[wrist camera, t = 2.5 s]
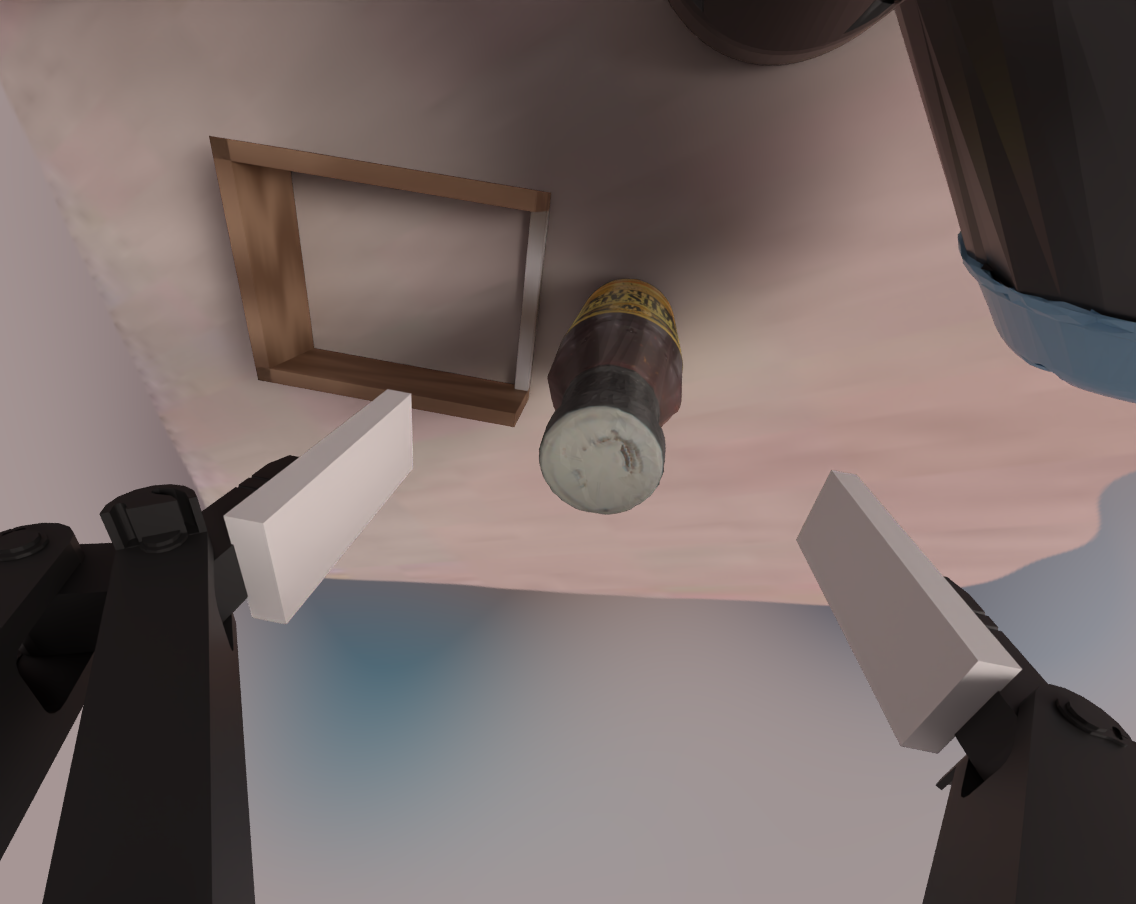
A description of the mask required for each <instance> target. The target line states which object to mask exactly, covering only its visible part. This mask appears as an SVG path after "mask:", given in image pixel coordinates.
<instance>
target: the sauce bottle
mask: <svg viewBox="0 0 1136 904" xmlns="http://www.w3.org/2000/svg"><path fill="white" fill-rule="evenodd" d="M682 370H683V360H682V355H681V349H680V344H679V339H678V334H677V330H676V324H675V320H674V315H673V312H672V309H671V306H670V304H669V302H668V300H667V299H666V298H665V297H664V295H663V294H662V293H661V292H660V291H659V290H658V289H656V288H655V287H654V286H652V285H650V284H648V283H646V282H643V281H640V280H637V279H620V280H614V281H612V282H609V283H607V284H605V285H603V286H602V287H600V288H599V289H597V290H596V291H595V292H594V293H593V294H592V295H591V296H590V297H589V299H588V300H587V302H586V303H585V305H584V306H583V308H582V310H581V311H580V313H579V315H578V316H577V318H576V319H575V321H574V323H573V324H572V326H571V327H570V329H569V330H568V332H567V333H566V335H565V336H564V338H563V340H562V342H561V344H560V347H559V349H558V352H557V354H556V357H555V360H554V362H553V365H552V367H551V370H550V372H549V374H548V383H549V388H550V393H551V398H552V402H553V407H554V408H555V412H554V414H553V415H552V417H551V419H550V421H549V423H548V425H547V426H546V430H545V432H544V435H543V438H542V441H541V444H540V448H539V463H540V467H541V471H542V474H543V477H544V479H545V481H546V482H547V484H548V485H549V486H550V488H551V490H552V492H553V493H555V494H556V495H557V496H558V497H559V498H560V499H561V500H562V501H564V502H566V503H567V504H569V505H571V506H572V507H574V508H576V509H579V510H581V511H586V512H593V513H599V514H616V513H621V512H624V511H627V510H630V509H632V508H633V507H635V506H636V505H638V504H641V503H642V502H643V501H644V500H646V499H647V498H648V497H650V496H651V494H652V493H653V492H654V490H655V489H656V487H657V486H658V485H659V481H660V479H661V477H662V475H663V472H664V462H665V437H664V434H663V431H662V428H661V427H662V426H663V424H665V423H666V422H667V421H668V420H669V419H670V418H671V416H672V415H673V414H675V413H676V412H678V410H679V408H680V405H681V397H682Z"/></svg>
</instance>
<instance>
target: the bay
mask: <svg viewBox="0 0 1136 904" xmlns="http://www.w3.org/2000/svg"><path fill="white" fill-rule="evenodd" d="M209 138H210V143H211V148H212V153H213V158H214V163H215V168H216V173H217V178H218V183H219V188H220V193H221V198H222V203H223V208H224V213H225V218H226V223H227V228H228V233H229V238H230V243H231V247H232V252H233V257H234V262H235V267H236V272H237V277H238V282H239V287H240V292H241V297H242V302H243V307H244V312H245V317H246V322H247V327H248V332H249V337H250V342H251V347H252V352H253V357H254V361H255V366H256V371H257V376H258V380H261V381H267V382H272V383H278V384H283V385H289V386H294V387H299V388H305V389H310V390H316V391H321V392H326V393H332V394H337V395H343V396H348V397H354V398H359V399H364V400H370V401H373V400H374V399H375V398H377V397H378V396H379V395H381V394H382V393H383V392H385V391H386V390H387V389H389V390H394V391H400V392H405V393H411V403H412V408H413V409H418V410H424V411H429V412H435V413H440V414H446V415H451V416H456V417H462V418H467V419H473V420H478V421H483V422H489V423H494V424H500V425H505V426H510V427H514V426H515V424H516V422H517V421H518V419H519V417H520V415H521V413H522V411H523V409H524V407H525V405H526V403H527V401H528V398H529V389H530V380H531V371H532V362H533V353H534V344H535V335H536V326H537V317H538V307H539V298H540V289H541V280H542V271H543V262H544V253H545V244H546V235H547V226H548V217H549V208H550V199H551V193H550V192H544V191H538V190H532V189H526V188H520V187H514V186H508V185H502V184H496V183H490V182H484V181H478V180H472V179H466V178H460V177H454V176H448V175H442V174H436V173H430V172H424V171H418V170H412V169H406V168H400V167H394V166H388V165H382V164H376V163H370V162H364V161H358V160H352V159H347V158H341V157H335V156H329V155H323V154H317V153H311V152H305V151H299V150H293V149H287V148H281V147H275V146H269V145H262V144H256V143H250V142H244V141H237V140H231V139H225V138H218V137H212V136H209ZM291 171H294V172H300V173H306V174H312V175H318V176H324V177H330V178H336V179H341V180H347V181H353V182H359V183H365V184H371V185H377V186H383V187H389V188H395V189H401V190H407V191H412V192H418V193H424V194H430V195H436V196H442V197H448V198H454V199H460V200H466V201H472V202H478V203H483V204H489V205H495V206H501V207H507V208H513V209H519V210H525V211H531V217H530V228H529V238H528V249H527V260H526V271H525V281H524V292H523V303H522V314H521V324H520V335H519V346H518V357H517V367H516V378H515V385H514V384H509V383H503V382H498V381H492V380H487V379H481V378H476V377H470V376H465V375H459V374H454V373H448V372H443V371H437V370H432V369H426V368H421V367H415V366H410V365H404V364H399V363H393V362H388V361H382V360H377V359H371V358H366V357H360V356H355V355H349V354H344V353H338V352H333V351H327V350H322V349H316V348H314V344H313V336H312V329H311V321H310V313H309V306H308V298H307V291H306V283H305V276H304V268H303V261H302V253H301V246H300V238H299V231H298V223H297V216H296V208H295V201H294V193H293V185H292V178H291Z"/></svg>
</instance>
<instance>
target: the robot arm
mask: <svg viewBox="0 0 1136 904" xmlns="http://www.w3.org/2000/svg"><path fill="white" fill-rule="evenodd" d="M669 2H670V4H671V5H672V7H673V9H674V10H675V12H676V13H677V14H678V16H679V17H680V19H681V20H682V21H683V22H684V23H685V25H686V26H687V27H688V28H689V29H690V30H691V31H692V32H693V33H694V34H695V35H696V36H697V37H698V38H699V39H701V40H702V41H703V42H704V43H706V44H707V45H708V46H710V47H711V48H713V49H714V50H716V51H718V52H720V53H722V54H724V55H726V56H728V57H731V58H733V59H736V60H740V61H743V62H748V63H753V64H761V65H781V64H790V63H795V62H800V61H804V60H808V59H811V58H814V57H817V56H820V55H822V54H825V53H827V52H829V51H832V50H834V49H836V48H838V47H840V46H842V45H844V44H845V43H847V42H849V41H850V40H852V39H854V38H855V37H857V36H858V35H860V34H861V33H863V32H864V31H865V30H867V29H868V28H870V27H871V26H872V25H874V24H875V23H876V22H878V21H879V20H881V19H882V18H883V17H885V16H886V15H887V14H889V13H890V12H891V11H892V10H894V9H895V13H896V16H897V19H898V22H899V26H900V29H901V32H902V36H903V39H904V42H905V45H906V49H907V52H908V55H909V59H910V62H911V65H912V69H913V72H914V75H915V78H916V82H917V85H918V88H919V92H920V95H921V98H922V102H923V105H924V108H925V111H926V115H927V118H928V121H929V125H930V128H931V131H932V135H933V138H934V141H935V144H936V148H937V151H938V154H939V158H940V161H941V164H942V168H943V171H944V174H945V177H946V181H947V184H948V187H949V191H950V194H951V197H952V201H953V204H954V207H955V211H956V215H957V218H958V222H959V226H960V229H961V231H960V233H959V234H958V246H959V251H960V253H961V256H962V259H963V264H964V265H965V267H966V268H967V270H968V271H969V273H970V274H971V275H972V276H973V277H974V278H975V279H976V280H977V281H978V283H979V285H980V288H981V290H982V293H983V295H984V297H985V300H986V302H987V305H988V307H989V310H990V313H991V315H992V318H993V321H994V324H995V326H996V328H997V330H998V332H999V334H1000V336H1001V337H1002V339H1003V340H1004V341H1005V343H1006V344H1007V345H1008V347H1009V348H1010V349H1011V350H1013V351H1014V352H1015V353H1016V354H1017V355H1018V356H1019V357H1020V358H1022V359H1023V360H1024V361H1026V362H1027V363H1028V364H1030V365H1032V366H1034V367H1037V368H1039V369H1042V370H1045V371H1049V372H1053V373H1055V374H1056V375H1057V376H1058V377H1059V378H1061V379H1062V380H1064V381H1066V382H1067V383H1069V384H1070V385H1072V386H1075V387H1078V388H1080V389H1083V390H1086V391H1089V392H1093V393H1096V394H1100V395H1103V396H1107V397H1111V398H1115V399H1119V400H1123V401H1127V402H1132V403H1136V0H669ZM412 469H413V442H412V403H411V393H405V392H400V391H394V390H389V389H387V390H386V391H385V392H383V393H382V394H381V395H379V396H378V397H377V398H375V399H374V400H373V401H372V402H370V403H369V404H368V405H366V406H365V407H364V408H362V409H361V410H360V411H359V412H357V413H356V414H355V415H353V416H352V417H351V418H350V419H348V420H347V421H346V422H344V423H343V424H342V425H340V426H339V427H338V428H337V429H335V430H334V431H333V432H331V433H330V434H329V435H327V436H326V437H325V438H324V439H322V440H321V441H320V442H318V443H317V444H316V445H315V446H313V447H312V448H311V449H309V450H308V451H307V452H305V453H304V454H303V455H302V456H300V457H296V456H291V455H289V456H286V457H284V458H281V459H279V460H276V461H274V462H271V463H269V464H267V465H266V466H264V467H263V468H261V469H260V470H259V471H257V472H256V473H254V474H253V475H252V477H251V478H248V479H246V480H245V481H243V482H242V483H241V484H239V487H238V488H237V487H235V488H234V489H232V490H231V491H229V492H228V493H227V494H225V495H224V496H223V497H221V498H220V499H218V500H217V501H216V502H214V503H213V504H211V505H210V506H209V507H207V508H206V509H205V510H203V511H202V512H201V509H200V505H199V502H198V499H197V496H196V494H195V492H194V491H193V490H192V489H190V488H188V487H186V486H180V485H172V484H168V485H155V486H149V487H146V488H141V489H137V490H133V491H131V492H129V493H126V494H124V495H121V496H119V497H117V498H116V499H114V500H113V501H111V502H110V503H108V504H107V505H106V506H105V507H104V508H103V510H102V511H101V513H100V516H101V519H102V521H103V523H104V525H105V527H106V530H107V532H108V534H109V536H110V539H111V541H112V543H99V544H79V543H78V541H77V539H76V537H75V535H74V533H73V531H72V530H71V528H70V527H69V526H66V525H62V524H59V523H38V524H32V525H25V526H20V527H16V528H14V529H9V530H6V531H3V532H0V860H1V858H2V856H3V854H4V853H5V851H6V849H7V847H8V845H9V843H10V841H11V840H12V838H13V836H14V834H15V832H16V830H17V828H18V827H19V825H20V823H21V821H22V819H23V817H24V815H25V813H26V811H27V810H28V808H29V806H30V804H31V802H32V800H33V799H34V797H35V795H36V793H37V791H38V789H39V787H40V785H41V783H42V782H43V780H44V778H45V776H46V774H47V772H48V770H49V768H50V767H51V765H52V763H53V761H54V759H55V757H56V756H57V754H58V752H59V750H60V748H61V746H62V744H63V742H64V741H65V739H66V737H67V735H68V733H69V731H70V729H71V727H72V726H73V724H74V722H75V720H76V718H77V716H78V714H79V713H80V711H81V709H82V707H83V710H82V715H81V720H80V725H79V730H78V735H77V740H76V744H75V749H74V754H73V759H72V763H71V768H70V773H69V778H68V783H67V787H66V792H65V797H64V802H63V807H62V812H61V816H60V821H59V826H58V831H57V836H56V841H55V845H54V850H53V855H52V859H51V864H50V869H49V874H48V879H47V883H46V888H45V894H44V898H43V903H42V904H255V895H254V881H253V866H252V852H251V836H250V822H249V808H248V792H247V778H246V764H245V748H244V735H243V719H242V704H241V690H240V675H239V660H238V646H237V632H236V621H235V618H234V615H233V612H234V611H235V610H236V609H237V608H238V607H239V605H241V603H243V602H244V601H245V599H246V598H247V601H248V605H249V608H250V612H251V615H252V618H257V619H262V620H267V621H273V622H277V623H282V624H287V623H288V622H289V621H290V619H291V618H292V617H293V616H294V614H295V613H296V612H297V611H298V609H299V608H300V607H301V606H302V604H303V603H304V602H305V601H306V599H307V598H308V597H309V596H310V595H311V593H312V592H313V591H314V590H315V588H316V587H317V586H318V585H319V584H320V582H321V581H322V580H323V579H324V577H325V576H326V575H327V574H328V572H329V571H330V570H331V569H332V568H333V566H334V565H335V564H336V563H337V561H338V560H339V559H340V558H341V556H342V555H343V554H344V553H345V552H346V550H347V549H348V548H349V547H350V545H351V544H352V543H353V542H354V540H355V539H356V538H357V537H358V536H359V534H360V533H361V532H362V531H363V529H364V528H365V527H366V526H367V524H368V523H369V522H370V521H371V519H372V518H373V517H374V516H375V515H376V513H377V512H378V511H379V510H380V508H381V507H382V506H383V505H384V503H385V502H386V501H387V500H388V499H389V497H390V496H391V495H392V494H393V492H394V491H395V490H396V489H397V487H398V486H399V485H400V484H401V482H402V481H403V480H404V479H405V478H406V476H407V475H408V474H409V473H410V471H411V470H412ZM796 540H797V542H798V544H799V546H800V548H801V550H802V552H803V554H804V556H805V558H806V560H807V562H808V564H809V566H810V568H811V570H812V572H813V574H814V576H815V578H816V580H817V582H818V584H819V586H820V588H821V590H822V592H823V594H824V596H825V598H826V600H827V602H828V604H829V606H830V608H831V609H832V612H833V613H834V615H835V617H836V619H837V621H838V623H839V625H840V627H841V629H842V631H843V633H844V635H845V637H846V639H847V641H848V643H849V645H850V647H851V649H852V651H853V653H854V655H855V657H856V659H857V661H858V663H859V665H860V667H861V669H862V671H863V673H864V674H865V677H866V679H867V681H868V683H869V685H870V687H871V688H872V691H873V693H874V695H875V696H876V698H877V700H878V702H879V704H880V706H881V708H882V710H883V712H884V714H885V716H886V718H887V720H888V722H889V724H890V726H891V728H892V730H893V732H894V734H895V736H896V738H897V740H898V742H899V744H900V746H903V747H907V748H912V749H917V750H922V751H927V752H932V753H939V752H940V751H941V750H942V749H943V748H944V747H945V746H946V745H947V744H948V743H949V742H950V741H951V740H952V739H953V738H954V737H955V736H956V738H957V740H958V741H959V743H960V745H961V746H962V748H963V749H964V751H965V753H966V756H964V757H963V758H962V759H961V760H960V761H959V762H958V763H957V764H956V765H955V766H954V767H953V768H952V769H951V770H950V771H949V772H947V773H946V774H945V775H944V776H943V777H942V778H941V779H940V780H939V782H938V783H937V784H936V786H937V787H938V788H940V789H941V790H942V789H944V788H945V787H946V786H947V785H951V789H950V793H949V797H948V801H947V806H946V810H945V814H944V818H943V822H942V826H941V830H940V834H939V839H938V842H937V847H936V850H935V855H934V859H933V863H932V867H931V871H930V875H929V879H928V883H927V887H926V891H925V896H924V899H923V904H1136V742H1134V741H1132V740H1131V738H1130V736H1129V735H1128V734H1127V733H1126V732H1125V731H1124V729H1123V728H1122V727H1121V726H1120V725H1119V724H1118V723H1117V722H1116V721H1115V720H1114V719H1113V718H1111V717H1110V716H1109V715H1108V714H1107V713H1106V712H1104V711H1103V710H1102V709H1101V708H1099V707H1098V706H1096V705H1095V704H1093V703H1091V702H1090V701H1089V700H1087V699H1085V698H1084V697H1082V696H1080V695H1078V694H1076V693H1074V692H1072V691H1070V690H1067V689H1066V688H1062V687H1058V686H1055V685H1051V684H1048V683H1047V682H1046V681H1045V680H1044V679H1043V678H1042V677H1041V676H1040V674H1039V673H1038V672H1037V671H1036V670H1035V669H1034V668H1033V667H1032V665H1031V664H1030V663H1029V662H1028V661H1027V660H1026V658H1025V657H1024V656H1023V655H1022V654H1021V653H1020V652H1019V650H1018V649H1017V648H1016V647H1015V646H1014V645H1013V644H1012V643H1011V641H1010V640H1009V639H1008V638H1007V637H1006V636H1005V635H1004V633H1003V632H1002V631H998V627H997V625H996V624H995V623H994V622H993V621H992V620H991V619H990V618H989V616H985V612H984V611H983V610H982V608H981V607H980V606H979V605H978V604H977V603H976V602H975V600H974V599H973V598H972V597H971V596H970V595H969V594H968V593H967V592H966V591H964V590H963V589H962V588H960V587H959V586H958V585H957V584H955V583H954V582H953V581H951V580H950V579H949V578H947V577H944V576H942V574H941V573H940V572H939V571H938V570H937V569H936V567H935V566H934V565H933V564H932V563H931V561H930V560H929V559H928V558H927V557H926V556H925V554H924V553H923V552H922V551H921V550H920V549H919V547H918V546H917V545H916V544H915V543H914V541H913V540H912V539H911V538H910V537H909V536H908V534H907V533H906V532H905V531H904V530H903V529H902V527H901V526H900V525H899V524H898V523H897V522H896V520H895V519H894V518H893V517H892V516H891V514H890V513H889V512H888V511H887V510H886V509H885V507H884V506H883V505H882V504H881V503H880V502H879V500H878V499H877V498H876V497H875V496H874V495H873V493H872V492H871V491H870V490H869V489H868V487H867V486H866V485H865V484H864V483H863V482H862V480H861V479H860V478H859V477H858V476H857V475H856V474H851V473H845V472H840V471H834V470H831V472H830V474H829V476H828V478H827V480H826V482H825V484H824V486H823V487H822V489H821V491H820V493H819V495H818V497H817V499H816V501H815V503H814V505H813V507H812V509H811V511H810V513H809V515H808V517H807V519H806V521H805V523H804V525H803V527H802V529H801V531H800V533H799V535H798V537H797V539H796ZM83 705H84V706H83Z"/></svg>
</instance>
